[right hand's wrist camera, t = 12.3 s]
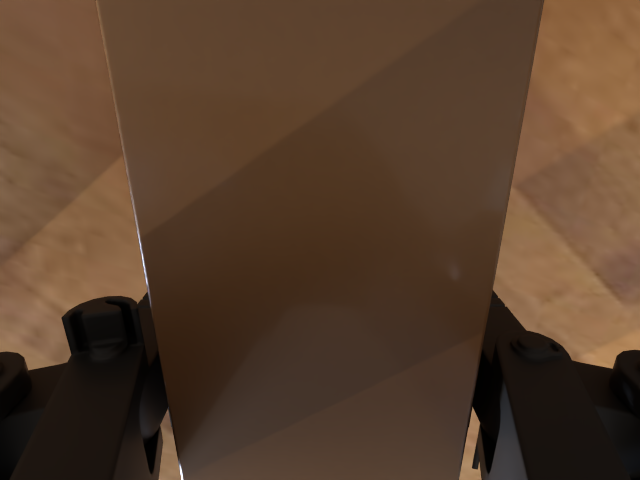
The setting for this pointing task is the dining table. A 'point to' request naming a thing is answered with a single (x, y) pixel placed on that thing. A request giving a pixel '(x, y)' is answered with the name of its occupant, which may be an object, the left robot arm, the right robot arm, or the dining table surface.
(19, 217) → the dining table surface
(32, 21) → the dining table surface
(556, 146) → the dining table surface
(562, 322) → the dining table surface
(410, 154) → the post
